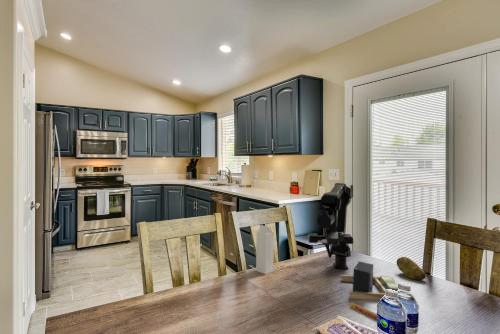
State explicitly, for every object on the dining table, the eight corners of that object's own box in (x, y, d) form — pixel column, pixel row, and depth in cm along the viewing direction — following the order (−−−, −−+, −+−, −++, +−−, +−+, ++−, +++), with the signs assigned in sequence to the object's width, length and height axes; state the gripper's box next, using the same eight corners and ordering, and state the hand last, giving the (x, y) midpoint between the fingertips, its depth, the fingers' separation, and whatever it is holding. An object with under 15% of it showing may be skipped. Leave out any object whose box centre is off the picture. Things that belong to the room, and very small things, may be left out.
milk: (265, 274, 138) (265, 228, 137) (255, 270, 142) (256, 226, 141) (273, 270, 142) (273, 226, 141) (263, 267, 146) (264, 223, 145)
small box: (369, 298, 116) (369, 272, 115) (352, 294, 119) (352, 268, 119) (373, 288, 125) (374, 263, 124) (357, 284, 128) (358, 260, 128)
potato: (411, 282, 130) (411, 265, 130) (393, 271, 143) (393, 255, 142) (428, 282, 131) (428, 264, 131) (408, 270, 144) (409, 254, 143)
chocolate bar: (379, 324, 99) (379, 317, 98) (349, 308, 108) (349, 302, 108) (383, 321, 100) (383, 315, 100) (353, 306, 110) (353, 300, 110)
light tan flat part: (341, 280, 132) (341, 271, 132) (391, 282, 130) (392, 274, 129) (350, 298, 115) (350, 288, 115) (408, 302, 113) (409, 291, 113)
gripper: (310, 227, 120) (310, 263, 121) (357, 228, 119) (356, 265, 120) (307, 220, 131) (307, 254, 132) (350, 221, 130) (349, 255, 131)
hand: (329, 257), depth 129 cm, fingers closed
